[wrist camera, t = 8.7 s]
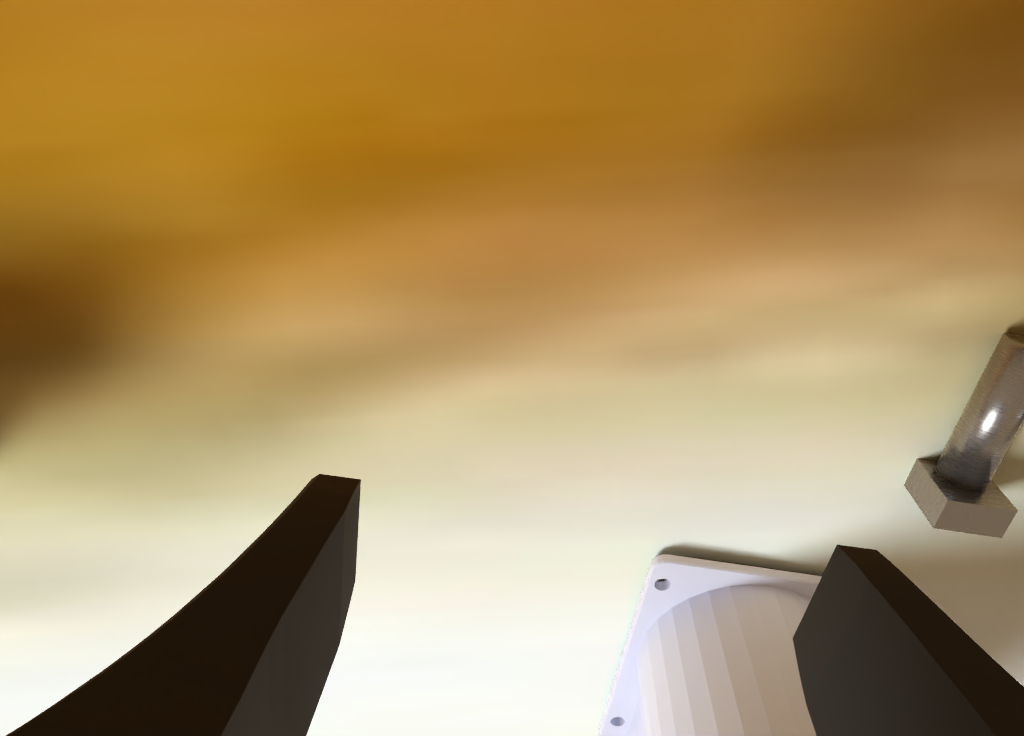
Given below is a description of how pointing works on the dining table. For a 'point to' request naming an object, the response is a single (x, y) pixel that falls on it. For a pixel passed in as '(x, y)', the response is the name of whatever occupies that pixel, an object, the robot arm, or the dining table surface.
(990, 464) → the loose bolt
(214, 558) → the dining table surface
